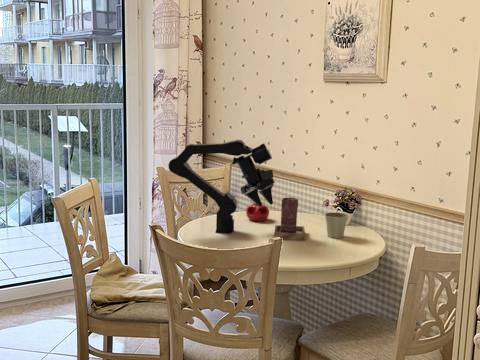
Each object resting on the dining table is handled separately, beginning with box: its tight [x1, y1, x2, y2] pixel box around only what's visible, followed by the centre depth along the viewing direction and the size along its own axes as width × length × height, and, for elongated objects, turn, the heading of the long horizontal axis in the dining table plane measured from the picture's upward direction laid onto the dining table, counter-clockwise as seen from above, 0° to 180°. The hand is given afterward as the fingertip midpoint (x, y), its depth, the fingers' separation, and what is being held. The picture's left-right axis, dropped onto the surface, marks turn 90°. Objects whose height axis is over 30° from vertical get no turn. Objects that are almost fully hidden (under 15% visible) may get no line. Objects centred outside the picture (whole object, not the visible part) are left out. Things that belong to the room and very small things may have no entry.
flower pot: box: [323, 211, 349, 239], centre depth 221 cm, size 9×9×9 cm
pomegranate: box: [245, 201, 270, 222], centre depth 246 cm, size 10×10×9 cm
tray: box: [273, 224, 306, 241], centre depth 222 cm, size 12×12×2 cm
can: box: [280, 197, 299, 233], centre depth 220 cm, size 6×6×14 cm
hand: (266, 205), depth 223 cm, fingers open, 9 cm apart
